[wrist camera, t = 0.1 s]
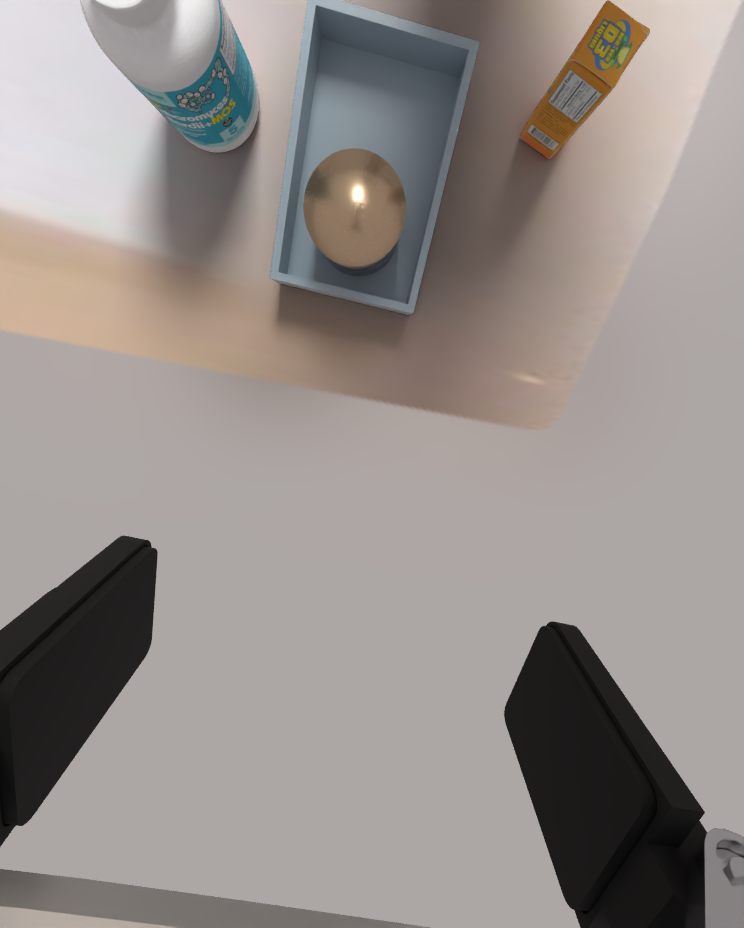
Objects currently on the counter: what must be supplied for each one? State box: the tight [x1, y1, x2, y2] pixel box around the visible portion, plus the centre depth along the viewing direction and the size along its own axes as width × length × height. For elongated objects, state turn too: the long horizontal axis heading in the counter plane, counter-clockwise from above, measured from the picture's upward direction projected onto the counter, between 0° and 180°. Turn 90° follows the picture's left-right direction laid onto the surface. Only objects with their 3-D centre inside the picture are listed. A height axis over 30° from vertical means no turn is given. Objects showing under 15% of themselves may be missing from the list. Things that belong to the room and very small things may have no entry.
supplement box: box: [520, 1, 650, 159], centre depth 27 cm, size 3×3×10 cm
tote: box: [270, 0, 480, 315], centre depth 32 cm, size 18×12×4 cm, turn 167°
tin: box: [303, 148, 406, 276], centre depth 31 cm, size 7×7×6 cm
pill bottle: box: [80, 0, 259, 153], centre depth 25 cm, size 8×7×14 cm
